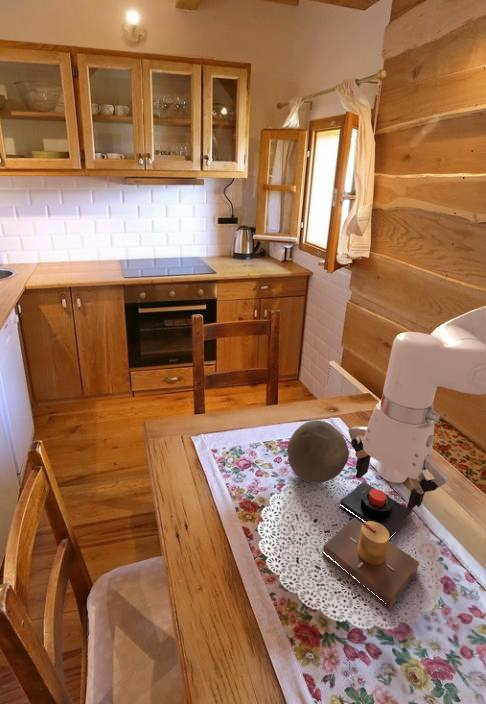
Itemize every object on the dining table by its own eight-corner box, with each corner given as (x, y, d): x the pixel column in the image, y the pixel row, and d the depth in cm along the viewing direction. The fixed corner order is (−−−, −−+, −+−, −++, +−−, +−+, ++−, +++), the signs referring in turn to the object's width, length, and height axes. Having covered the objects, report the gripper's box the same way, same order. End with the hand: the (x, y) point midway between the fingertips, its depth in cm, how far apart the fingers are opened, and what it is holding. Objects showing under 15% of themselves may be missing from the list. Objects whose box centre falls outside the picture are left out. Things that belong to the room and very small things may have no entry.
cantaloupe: (296, 500, 95) (302, 447, 90) (278, 460, 108) (283, 412, 103) (352, 495, 97) (362, 442, 92) (328, 456, 110) (335, 408, 105)
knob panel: (416, 573, 78) (419, 561, 77) (388, 610, 71) (391, 598, 70) (352, 527, 88) (354, 516, 87) (322, 556, 81) (323, 544, 80)
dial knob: (389, 554, 78) (394, 531, 76) (376, 570, 75) (381, 546, 73) (365, 538, 82) (370, 515, 80) (352, 551, 79) (356, 529, 77)
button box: (410, 518, 91) (413, 504, 90) (388, 542, 85) (391, 528, 83) (362, 488, 99) (364, 475, 98) (338, 508, 93) (341, 494, 92)
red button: (388, 501, 91) (389, 495, 90) (380, 509, 88) (381, 503, 88) (373, 492, 93) (374, 486, 93) (365, 500, 91) (366, 493, 90)
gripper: (470, 422, 63) (444, 508, 69) (368, 379, 75) (354, 456, 81) (451, 441, 58) (426, 531, 64) (346, 392, 70) (332, 472, 76)
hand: (385, 489), depth 73 cm, fingers open, 9 cm apart
